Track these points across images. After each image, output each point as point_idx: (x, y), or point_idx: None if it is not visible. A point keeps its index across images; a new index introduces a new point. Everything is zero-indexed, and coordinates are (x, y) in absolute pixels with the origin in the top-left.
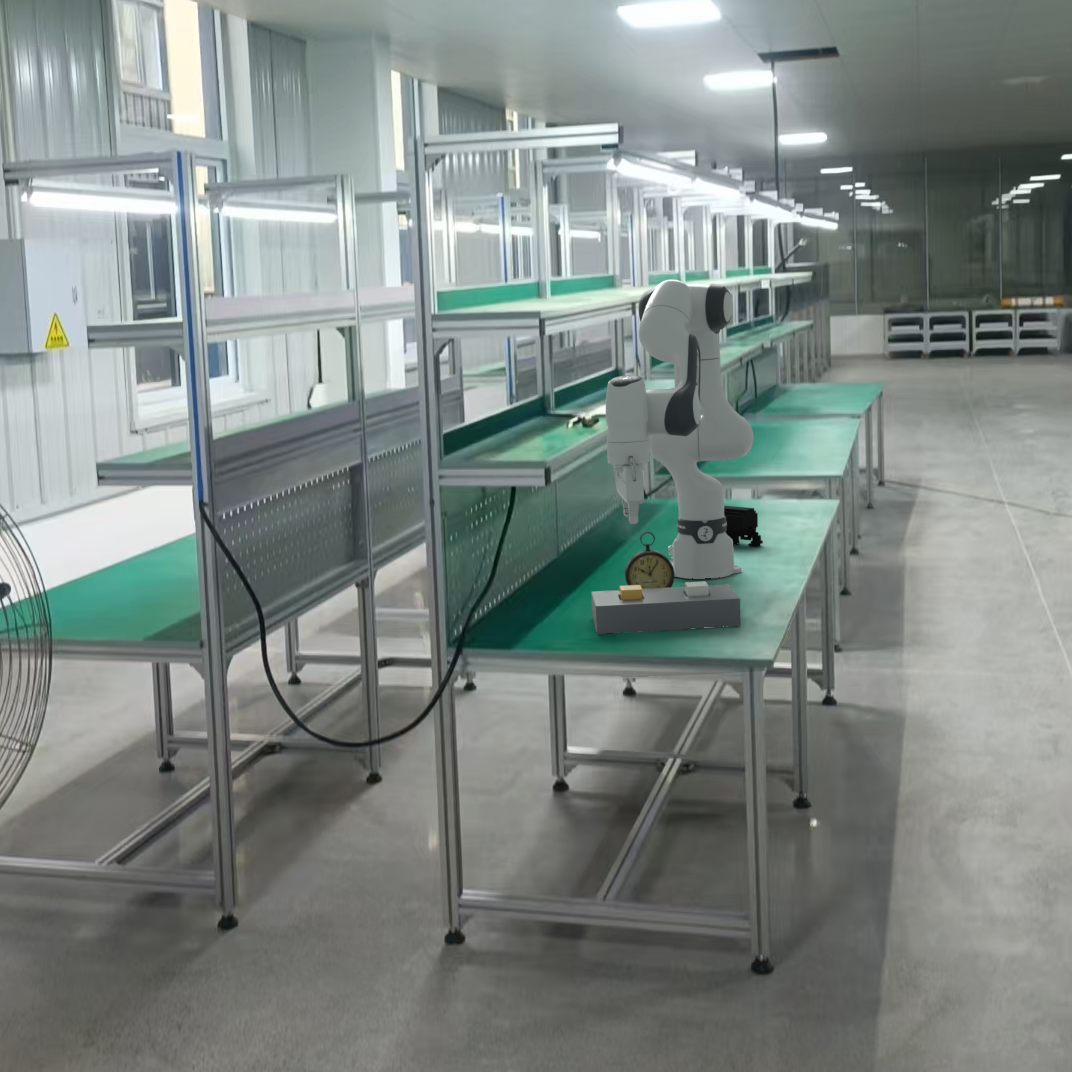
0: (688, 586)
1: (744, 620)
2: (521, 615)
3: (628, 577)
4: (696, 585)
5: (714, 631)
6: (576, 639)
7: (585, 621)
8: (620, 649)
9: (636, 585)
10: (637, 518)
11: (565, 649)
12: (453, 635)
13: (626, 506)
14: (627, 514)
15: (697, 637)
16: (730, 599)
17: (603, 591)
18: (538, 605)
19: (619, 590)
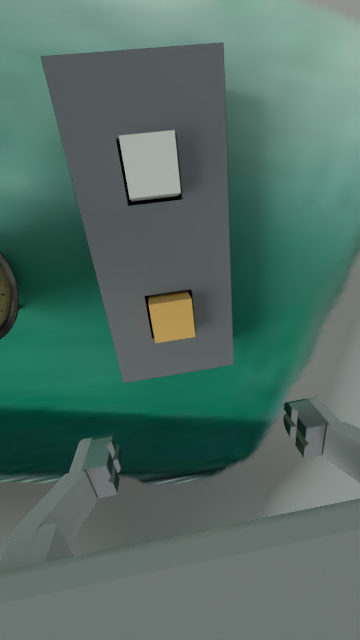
0: (177, 190)
1: None
2: None
3: (1, 331)
4: (168, 166)
5: (233, 150)
6: (241, 363)
7: None
8: (304, 306)
9: (154, 311)
10: (328, 410)
11: (285, 369)
12: (199, 479)
13: (85, 501)
14: (118, 458)
15: (267, 187)
16: (224, 76)
17: (122, 364)
18: (45, 432)
19: (115, 339)
